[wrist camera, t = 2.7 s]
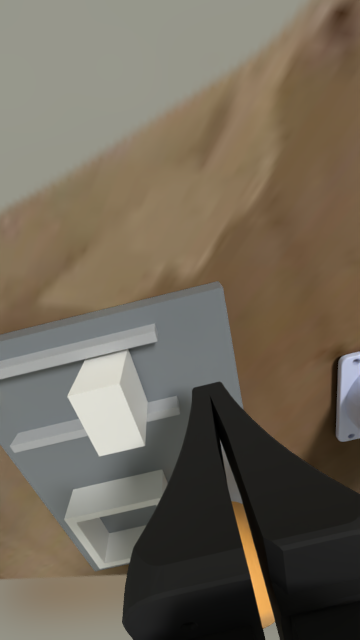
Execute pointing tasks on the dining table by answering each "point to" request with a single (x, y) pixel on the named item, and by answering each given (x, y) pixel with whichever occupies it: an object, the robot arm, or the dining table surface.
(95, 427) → the block
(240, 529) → the cap
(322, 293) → the dining table surface
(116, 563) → the panel
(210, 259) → the dining table surface
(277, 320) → the dining table surface
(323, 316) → the dining table surface
